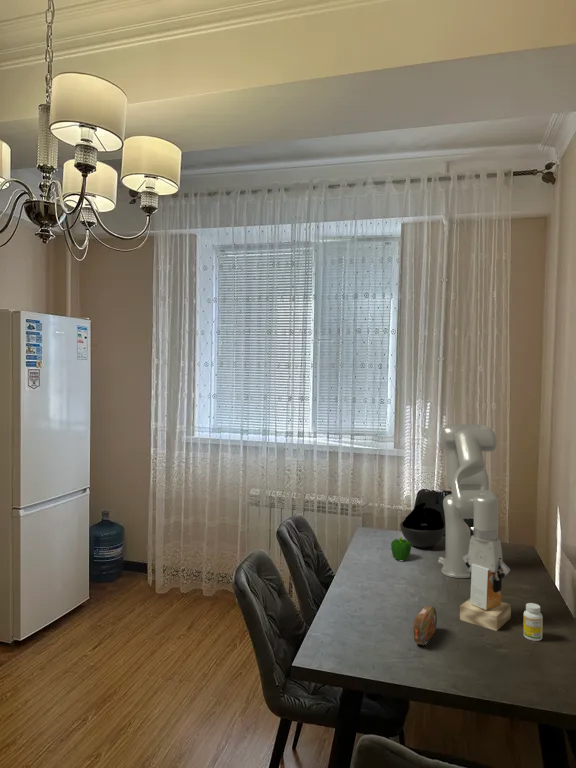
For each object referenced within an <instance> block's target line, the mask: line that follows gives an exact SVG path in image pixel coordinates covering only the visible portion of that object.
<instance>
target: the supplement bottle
mask: <svg viewBox="0 0 576 768" xmlns="http://www.w3.org/2000/svg"><path fill="white" fill-rule="evenodd" d="M522 619H523V625H522V626H523V636H524V637H525V639H527V640H530V641H534V642H539V641H542V639H543V630H544V629H543V628H544V626H543V621H544V617H543V614H542V613H541V606H540V605H539V604H538V603H534V602H528V603H526V604H525V610H524V612H523V618H522Z"/></svg>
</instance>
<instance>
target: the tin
mask: <svg viewBox="0 0 576 768" xmlns="http://www.w3.org/2000/svg"><path fill="white" fill-rule="evenodd" d="M437 619H438V618H437V611H436V608H435V607H434V606H428V605H426V606H423V607H422V609H421V610H420V611H419V612H418V614H417V615H416V616H415V618H414V621H413V627H412V629H413V641H414V642H415V643H416V644H418V645H422V646H424V645H425V643H426V642H427V641H428V640H429V639H430V638H432V637H433V636H434V635H435V633H436V629H437ZM433 634H434V635H433ZM430 640H431V639H430ZM430 640H429V641H430ZM425 646H426V645H425Z"/></svg>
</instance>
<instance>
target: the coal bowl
mask: <svg viewBox="0 0 576 768" xmlns="http://www.w3.org/2000/svg"><path fill="white" fill-rule="evenodd" d="M426 504H427V503H425V502H422V503H420V504H417V505H416V506H414V509H412V510H411V512H410V513H408V514H407V516H406V517H404V520H403V521H402V522H400V523H399V524H400V525H399V526H400V531H401V534H402V535H403V537H404V538H405V540H407V541H410V543H411V546H415V547H416V548H422V549H423V548H430V547H433V546H435V545H437V544H438V543H439V542H440V541H441V540H442V538H443V537H444V536H445V535H444V534H445V523H444V521H443V517H442V516H443V515H442V513H441V512H440V511H439V510H437V509H436V508H432V507H426Z"/></svg>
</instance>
